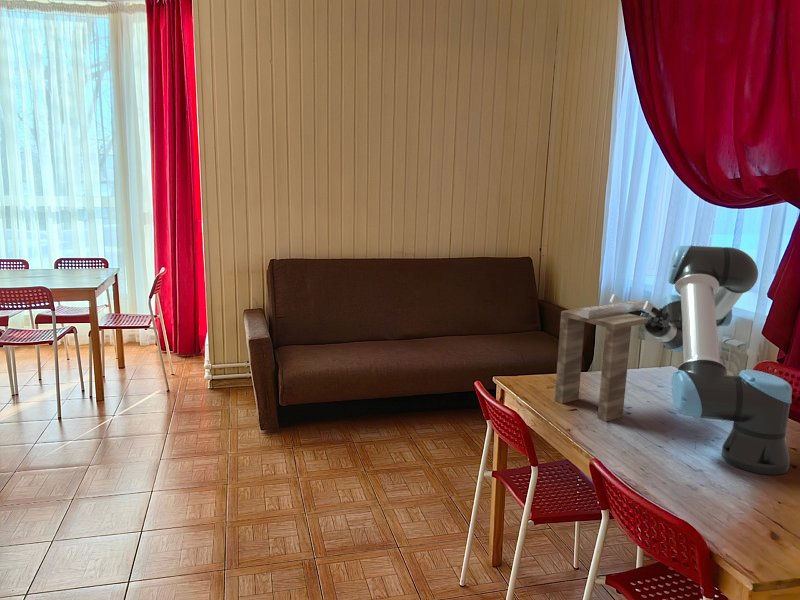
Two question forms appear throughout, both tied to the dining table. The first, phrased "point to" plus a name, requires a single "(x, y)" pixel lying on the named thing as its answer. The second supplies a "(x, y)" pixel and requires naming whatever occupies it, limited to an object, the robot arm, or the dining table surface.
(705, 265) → the robot arm
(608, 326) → the striped wooden stand
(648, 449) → the dining table surface
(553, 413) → the dining table surface
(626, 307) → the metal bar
